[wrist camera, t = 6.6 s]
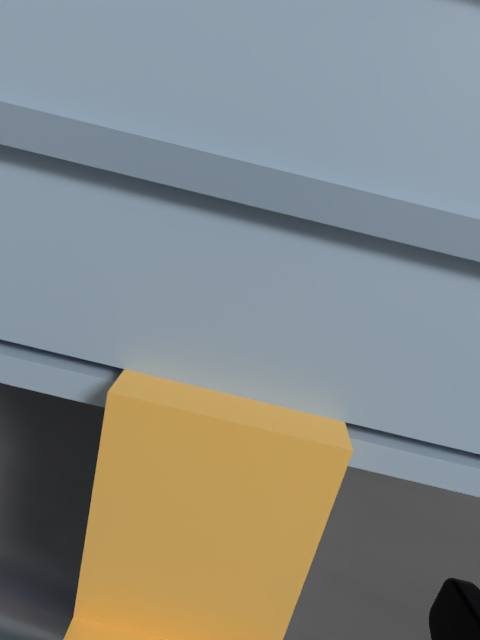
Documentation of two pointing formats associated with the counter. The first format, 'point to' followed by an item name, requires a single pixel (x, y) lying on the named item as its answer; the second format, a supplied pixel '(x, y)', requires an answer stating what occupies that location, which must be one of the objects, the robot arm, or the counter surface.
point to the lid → (240, 279)
